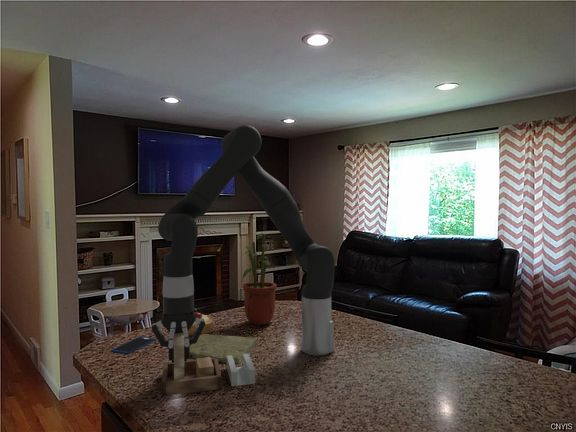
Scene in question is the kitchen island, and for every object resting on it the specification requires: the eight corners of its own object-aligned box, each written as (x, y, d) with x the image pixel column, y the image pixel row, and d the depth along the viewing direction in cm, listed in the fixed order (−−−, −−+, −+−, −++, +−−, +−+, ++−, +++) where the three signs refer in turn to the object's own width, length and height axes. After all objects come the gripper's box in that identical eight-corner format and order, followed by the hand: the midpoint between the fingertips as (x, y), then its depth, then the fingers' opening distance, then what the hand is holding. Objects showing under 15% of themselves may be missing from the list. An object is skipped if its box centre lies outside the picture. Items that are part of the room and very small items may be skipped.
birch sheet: (184, 374, 105) (183, 325, 104) (184, 389, 96) (183, 337, 96) (174, 375, 104) (174, 326, 104) (174, 391, 96) (173, 337, 95)
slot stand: (248, 369, 110) (248, 353, 110) (255, 387, 100) (255, 369, 100) (226, 371, 109) (226, 355, 109) (231, 390, 98) (231, 372, 98)
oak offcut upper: (210, 365, 105) (210, 356, 105) (213, 375, 99) (213, 366, 99) (196, 367, 104) (196, 358, 104) (199, 377, 98) (199, 368, 98)
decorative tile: (200, 342, 134) (200, 331, 134) (257, 346, 130) (257, 335, 130) (173, 364, 115) (173, 352, 115) (239, 369, 111) (239, 357, 111)
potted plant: (283, 322, 154) (283, 232, 153) (254, 332, 142) (254, 235, 141) (252, 314, 165) (252, 230, 164) (223, 322, 154) (222, 233, 153)
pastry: (184, 342, 134) (183, 316, 134) (175, 331, 145) (174, 307, 144) (218, 334, 140) (217, 310, 140) (207, 325, 150) (206, 302, 150)
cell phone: (157, 340, 135) (157, 338, 135) (128, 355, 122) (128, 353, 122) (139, 338, 137) (139, 336, 137) (109, 352, 124) (109, 350, 124)
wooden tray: (217, 371, 109) (217, 357, 109) (221, 392, 97) (221, 376, 97) (164, 377, 105) (163, 362, 105) (161, 400, 93) (161, 383, 93)
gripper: (205, 288, 105) (206, 352, 105) (150, 291, 101) (151, 358, 102) (207, 294, 98) (208, 363, 98) (147, 298, 94) (148, 370, 95)
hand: (179, 360), depth 100 cm, fingers closed on birch sheet, 2 cm apart
